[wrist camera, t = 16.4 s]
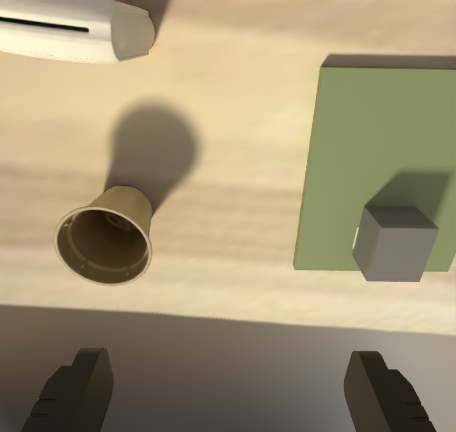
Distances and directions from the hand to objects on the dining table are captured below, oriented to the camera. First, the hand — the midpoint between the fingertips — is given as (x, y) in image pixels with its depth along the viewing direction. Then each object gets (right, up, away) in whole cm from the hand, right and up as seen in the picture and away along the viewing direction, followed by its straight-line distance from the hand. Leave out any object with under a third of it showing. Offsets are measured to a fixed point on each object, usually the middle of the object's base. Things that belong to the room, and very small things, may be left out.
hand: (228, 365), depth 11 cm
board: (+19, +9, +27) cm, 34 cm away
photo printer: (-12, +23, +20) cm, 32 cm away
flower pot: (-12, +6, +29) cm, 32 cm away
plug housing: (+19, +3, +29) cm, 35 cm away
